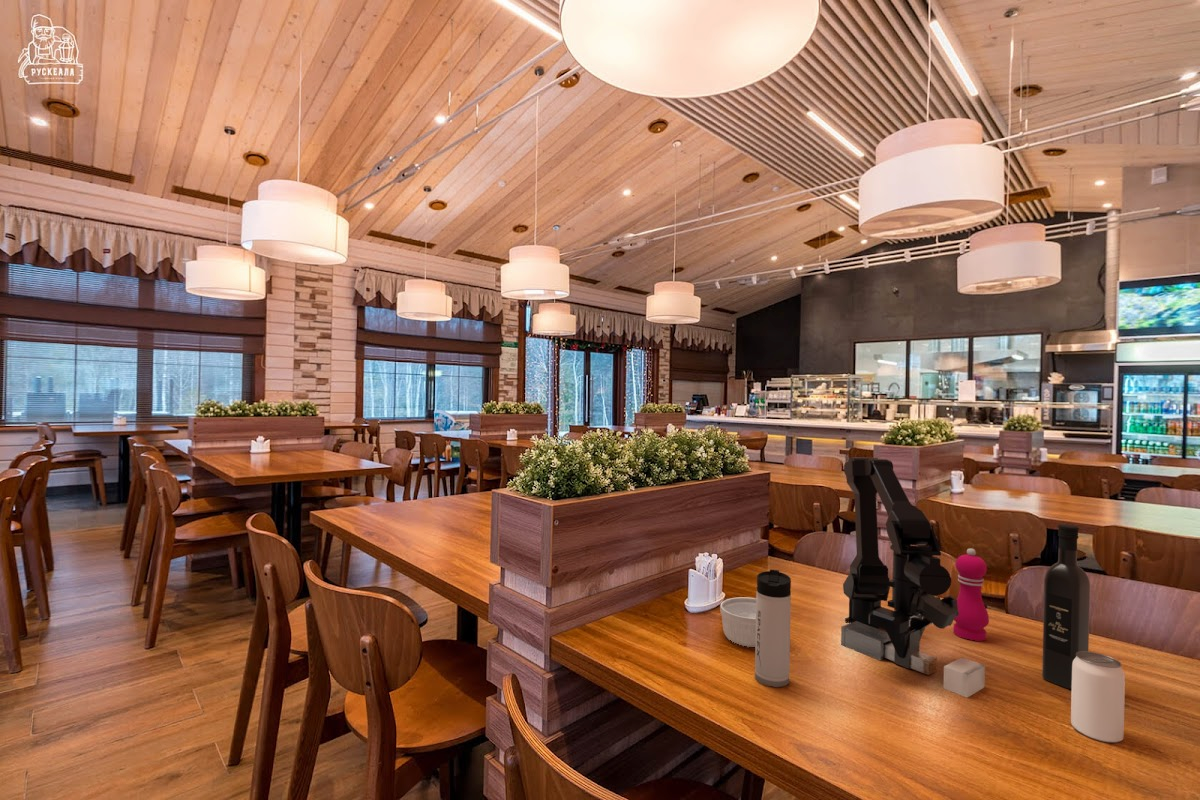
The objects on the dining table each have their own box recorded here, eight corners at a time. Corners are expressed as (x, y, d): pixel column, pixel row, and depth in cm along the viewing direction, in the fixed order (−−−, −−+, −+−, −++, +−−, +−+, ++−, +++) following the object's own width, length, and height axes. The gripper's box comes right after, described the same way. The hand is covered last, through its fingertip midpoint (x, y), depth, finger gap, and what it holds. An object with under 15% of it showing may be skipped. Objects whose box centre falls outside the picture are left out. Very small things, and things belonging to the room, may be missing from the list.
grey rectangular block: (943, 688, 106) (943, 666, 106) (961, 678, 110) (961, 657, 110) (966, 697, 103) (967, 675, 103) (984, 687, 107) (984, 665, 107)
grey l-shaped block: (851, 645, 123) (852, 613, 123) (861, 641, 125) (862, 609, 125) (927, 676, 110) (928, 640, 110) (937, 671, 112) (938, 635, 112)
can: (1060, 721, 96) (1062, 650, 96) (1095, 720, 96) (1097, 649, 96) (1097, 745, 89) (1098, 668, 89) (1135, 743, 90) (1136, 667, 90)
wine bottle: (1074, 692, 105) (1078, 530, 105) (1039, 678, 110) (1043, 524, 110) (1090, 685, 108) (1093, 527, 108) (1054, 672, 113) (1058, 521, 113)
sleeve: (841, 644, 124) (841, 626, 124) (855, 638, 127) (856, 621, 127) (880, 660, 117) (880, 641, 117) (895, 654, 120) (895, 635, 120)
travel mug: (789, 674, 111) (791, 571, 110) (789, 690, 104) (791, 581, 104) (756, 668, 113) (758, 567, 112) (753, 684, 106) (755, 577, 106)
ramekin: (714, 644, 123) (715, 612, 123) (725, 622, 136) (725, 593, 136) (778, 656, 118) (779, 622, 118) (783, 632, 131) (783, 601, 131)
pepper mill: (977, 630, 133) (979, 544, 133) (995, 643, 126) (997, 553, 126) (944, 628, 134) (946, 543, 134) (961, 641, 127) (963, 551, 127)
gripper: (926, 598, 103) (924, 684, 103) (973, 581, 114) (972, 659, 114) (867, 581, 112) (866, 660, 112) (916, 566, 123) (915, 639, 123)
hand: (906, 655), depth 115 cm, fingers closed on grey l-shaped block, 4 cm apart
